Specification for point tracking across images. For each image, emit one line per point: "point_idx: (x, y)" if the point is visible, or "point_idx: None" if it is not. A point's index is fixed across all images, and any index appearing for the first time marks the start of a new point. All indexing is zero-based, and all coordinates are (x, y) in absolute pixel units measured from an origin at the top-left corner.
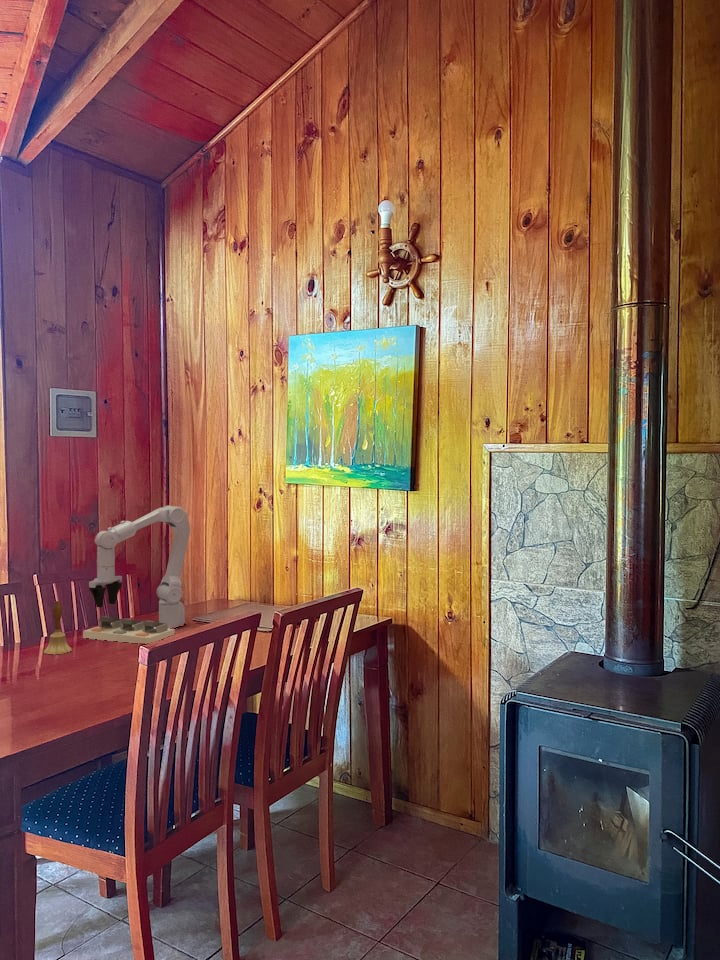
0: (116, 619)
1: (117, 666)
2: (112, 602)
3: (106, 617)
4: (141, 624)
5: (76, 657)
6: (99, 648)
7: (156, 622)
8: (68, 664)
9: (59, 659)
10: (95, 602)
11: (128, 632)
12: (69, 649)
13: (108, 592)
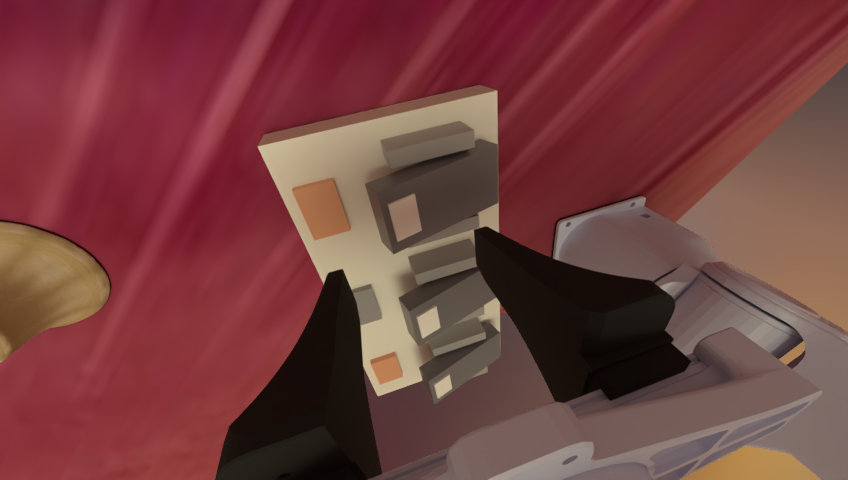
0: (445, 224)
1: (183, 475)
2: (480, 261)
3: (388, 236)
4: None
5: (93, 382)
6: (233, 330)
7: (449, 392)
8: (32, 432)
9: (5, 377)
10: (320, 296)
11: (389, 314)
12: (81, 319)
13: (524, 278)
